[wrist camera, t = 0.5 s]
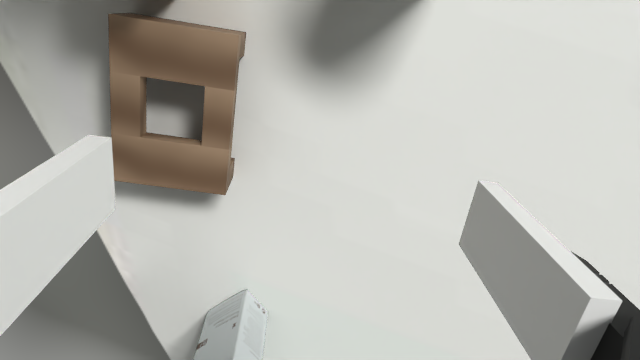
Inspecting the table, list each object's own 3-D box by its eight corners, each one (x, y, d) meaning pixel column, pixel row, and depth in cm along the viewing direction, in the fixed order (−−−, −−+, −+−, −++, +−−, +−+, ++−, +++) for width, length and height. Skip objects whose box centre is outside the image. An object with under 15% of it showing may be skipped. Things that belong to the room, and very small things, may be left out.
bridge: (130, 13, 36) (108, 13, 32) (245, 32, 37) (238, 35, 33) (131, 163, 42) (112, 180, 37) (232, 176, 43) (225, 195, 38)
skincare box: (246, 286, 48) (229, 371, 37) (270, 312, 49) (261, 401, 38) (204, 312, 49) (175, 402, 38) (229, 336, 50) (208, 430, 39)
